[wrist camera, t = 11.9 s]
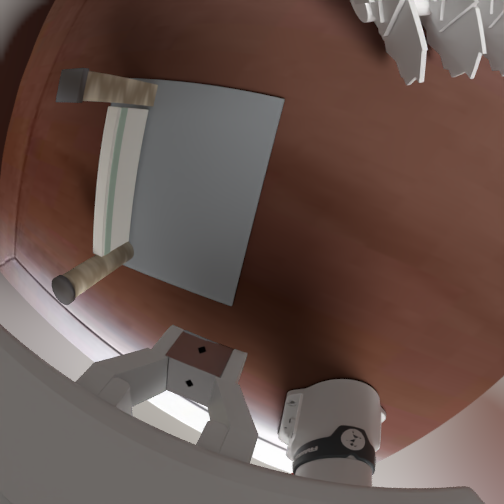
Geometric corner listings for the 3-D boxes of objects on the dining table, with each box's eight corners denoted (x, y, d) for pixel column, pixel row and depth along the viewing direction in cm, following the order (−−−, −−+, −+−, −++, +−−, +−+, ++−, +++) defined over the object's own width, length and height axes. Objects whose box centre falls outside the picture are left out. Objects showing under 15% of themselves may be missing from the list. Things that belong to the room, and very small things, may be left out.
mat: (232, 304, 42) (231, 306, 42) (98, 252, 45) (97, 253, 45) (284, 99, 31) (284, 99, 31) (118, 78, 34) (116, 77, 34)
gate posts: (136, 262, 44) (72, 309, 31) (118, 255, 44) (53, 298, 31) (162, 84, 33) (84, 67, 20) (140, 82, 34) (61, 69, 20)
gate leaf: (129, 241, 42) (102, 257, 36) (120, 237, 42) (92, 252, 36) (149, 109, 34) (118, 107, 28) (138, 108, 34) (107, 106, 28)
